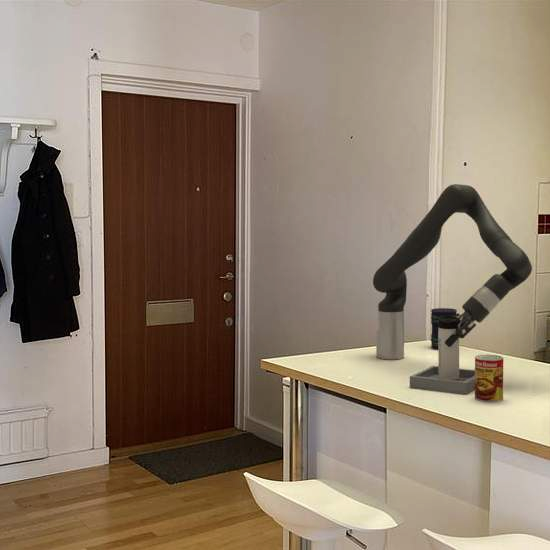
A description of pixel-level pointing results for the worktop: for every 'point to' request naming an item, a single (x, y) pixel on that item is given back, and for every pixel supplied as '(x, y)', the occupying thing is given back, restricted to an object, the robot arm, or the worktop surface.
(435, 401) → the worktop surface
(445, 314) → the storage jar
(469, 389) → the grey tray
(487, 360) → the canned food
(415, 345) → the worktop surface
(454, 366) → the travel mug
